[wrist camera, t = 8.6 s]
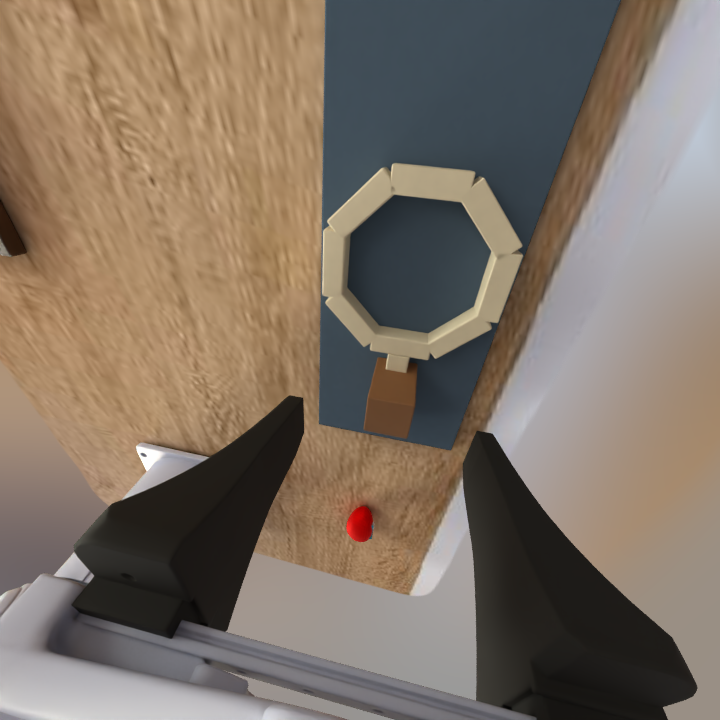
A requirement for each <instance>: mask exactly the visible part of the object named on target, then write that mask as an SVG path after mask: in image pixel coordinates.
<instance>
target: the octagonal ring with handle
mask: <svg viewBox="0 0 720 720" xmlns="http://www.w3.org/2000/svg"><path fill="white" fill-rule="evenodd" d="M474 178H475V172H474V171H470V170H461V169H451V168H441V167H432V166H422V165H412V164H403V163H393V164H392V168H391V172H390V171H389V169H388V168H387V167H383V168H381V169H380V170H379V171H378V172H377V173H376V174H375V175H374V176H373V177H372V178H371V179H370V180H369V181H368V182H367V183H365V184H364V185H363V186H362V187H361V188H360V189H359V190H358V191H357V192H356V193H355V194H354V195H353V196H352V197H351V198H350V199H349V200H348V201H347V202H346V203H345V204H344V205H343V206H342V207H341V208H340V209H338V210H337V211H336V212H335V213H334V214H333V215H332V216H331V217H330V218H329V219H328V221H327V222H328V224H329V225H330V226H328V227H327V228H325V229H324V231H323V281H322V294H323V296H327V297H329V298H328V299H327V300H326V302H325V303H326V305H327V306H328V307H329V308H330V309H331V310H332V312H333V313H334V314H335V315H336V316H337V317H338V318H339V320H340V321H341V322H342V323H343V324H344V325H345V326H346V328H347V329H348V330H349V331H350V332H351V333H352V334H353V335H354V337H355V338H356V339H357V340H358V341H359V342H360V343H361V345H362V346H363V347H365V346H367V345H369V344H370V343H371V344H370V350H371V351H375V352H381V353H387V354H388V357H387V358H381V357H378V358H377V362H376V366H375V370H374V374H373V378H372V382H371V386H370V390H369V394H368V398H367V406H366V413H365V421H364V430H365V431H369V432H374V433H379V434H385V435H390V436H395V437H400V438H405V439H407V438H408V434H409V430H410V426H411V422H412V418H413V414H414V410H415V404H416V385H417V366H418V365H417V364H416V363H410V362H409V359H410V357H411V358H417V359H423V360H428V359H429V357H430V353H431V354H432V356H433V357H434V358H435V359H437V358H439V357H441V356H443V355H444V354H446V353H448V352H450V351H452V350H454V349H456V348H457V347H459V346H461V345H463V344H465V343H467V342H469V341H471V340H472V339H474V338H476V337H478V336H480V335H482V334H484V333H485V332H487V331H489V330H491V329H492V326H491V324H490V322H493V323H498V322H499V319H500V317H501V314H502V311H503V309H504V306H505V303H506V301H507V298H508V295H509V292H510V290H511V287H512V284H513V282H514V279H515V276H516V274H517V271H518V268H519V266H520V263H521V260H522V258H523V255H522V254H521V253H520V252H519V251H518V249H520V248H521V247H522V243H521V242H520V240H519V238H518V236H517V234H516V233H515V231H514V229H513V227H512V226H511V224H510V222H509V220H508V219H507V217H506V215H505V213H504V211H503V210H502V208H501V206H500V204H499V203H498V201H497V199H496V197H495V196H494V194H493V192H492V190H491V188H490V187H489V185H488V183H487V181H486V180H485V178H483V177H481V176H479V177H478V178H476V179H475V180H474ZM393 195H402V196H411V197H419V198H428V199H437V200H446V201H454V202H462V204H463V206H464V207H465V209H466V211H467V212H468V214H469V216H470V217H471V219H472V220H473V222H474V224H475V225H476V227H477V229H478V230H479V232H480V234H481V235H482V237H483V238H484V240H485V242H486V243H487V245H488V247H489V248H490V250H491V254H490V257H489V260H488V263H487V266H486V270H485V273H484V276H483V279H482V282H481V285H480V289H479V292H478V295H477V298H476V301H475V305H474V307H472V308H471V309H469V310H467V311H465V312H464V313H462V314H460V315H459V316H457V317H455V318H454V319H452V320H450V321H448V322H447V323H445V324H443V325H442V326H440V327H438V328H437V329H435V330H433V331H431V332H430V333H423V332H416V331H410V330H404V329H398V328H392V327H385V326H379V325H378V324H377V322H376V321H375V320H374V319H373V318H372V316H371V315H370V314H369V313H368V312H367V310H366V309H365V308H364V307H363V306H362V304H361V303H360V302H359V301H358V300H357V298H356V297H355V296H354V295H353V294H352V292H351V291H350V290H349V289H348V288H347V283H348V268H349V252H350V236H351V233H352V232H353V231H354V230H355V229H356V228H357V227H359V226H360V225H361V224H362V223H363V222H364V221H365V220H366V219H368V218H369V217H370V216H371V215H372V214H373V213H374V212H375V211H377V210H378V209H379V208H380V207H381V206H382V205H383V204H384V203H386V202H387V201H388V200H389V199H390V198H391V197H392V196H393Z"/></svg>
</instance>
